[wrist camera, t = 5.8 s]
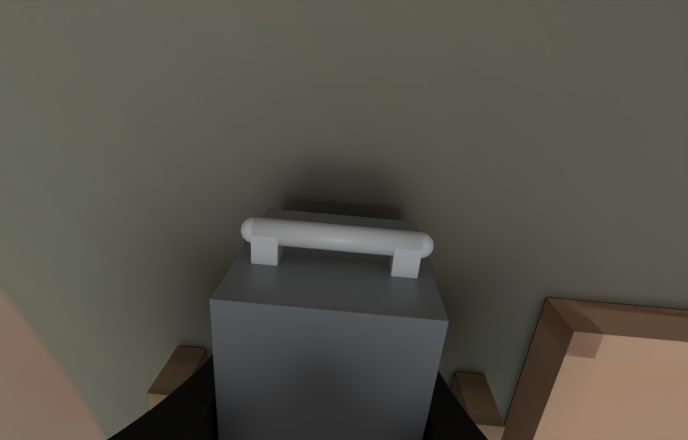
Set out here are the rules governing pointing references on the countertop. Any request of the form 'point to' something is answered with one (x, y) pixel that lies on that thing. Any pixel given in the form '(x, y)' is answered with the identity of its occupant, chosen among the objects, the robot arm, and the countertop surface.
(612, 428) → the tray
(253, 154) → the countertop surface
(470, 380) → the bay
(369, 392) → the caddy
